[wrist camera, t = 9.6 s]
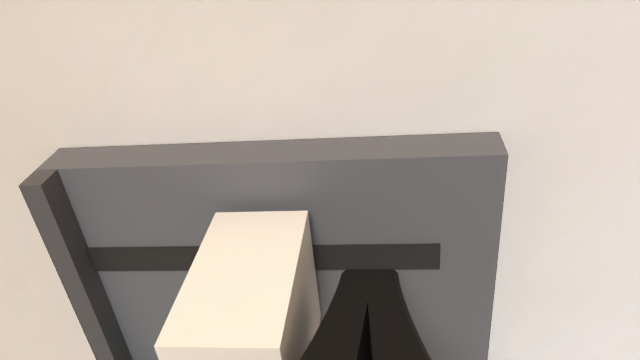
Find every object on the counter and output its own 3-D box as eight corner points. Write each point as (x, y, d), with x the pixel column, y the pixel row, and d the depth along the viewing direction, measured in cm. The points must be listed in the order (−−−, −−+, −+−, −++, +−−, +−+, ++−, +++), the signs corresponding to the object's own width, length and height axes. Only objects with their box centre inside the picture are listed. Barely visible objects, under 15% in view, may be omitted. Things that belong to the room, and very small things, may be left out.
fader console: (469, 457, 21) (477, 510, 19) (173, 445, 22) (156, 494, 21) (498, 131, 14) (515, 171, 12) (59, 148, 15) (18, 185, 13)
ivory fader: (320, 314, 15) (301, 463, 12) (239, 314, 16) (194, 459, 12) (308, 210, 13) (279, 348, 10) (215, 212, 14) (153, 346, 10)
